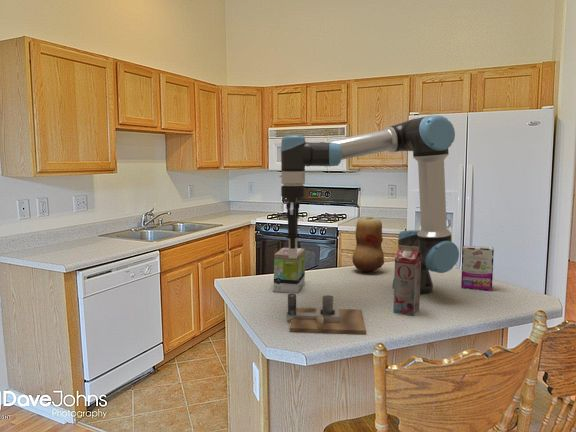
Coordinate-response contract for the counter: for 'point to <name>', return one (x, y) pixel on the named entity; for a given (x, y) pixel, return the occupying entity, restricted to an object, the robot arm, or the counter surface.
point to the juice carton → (407, 280)
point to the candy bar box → (477, 267)
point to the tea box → (289, 271)
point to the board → (348, 322)
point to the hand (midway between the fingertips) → (292, 257)
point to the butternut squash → (368, 245)
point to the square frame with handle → (302, 315)
